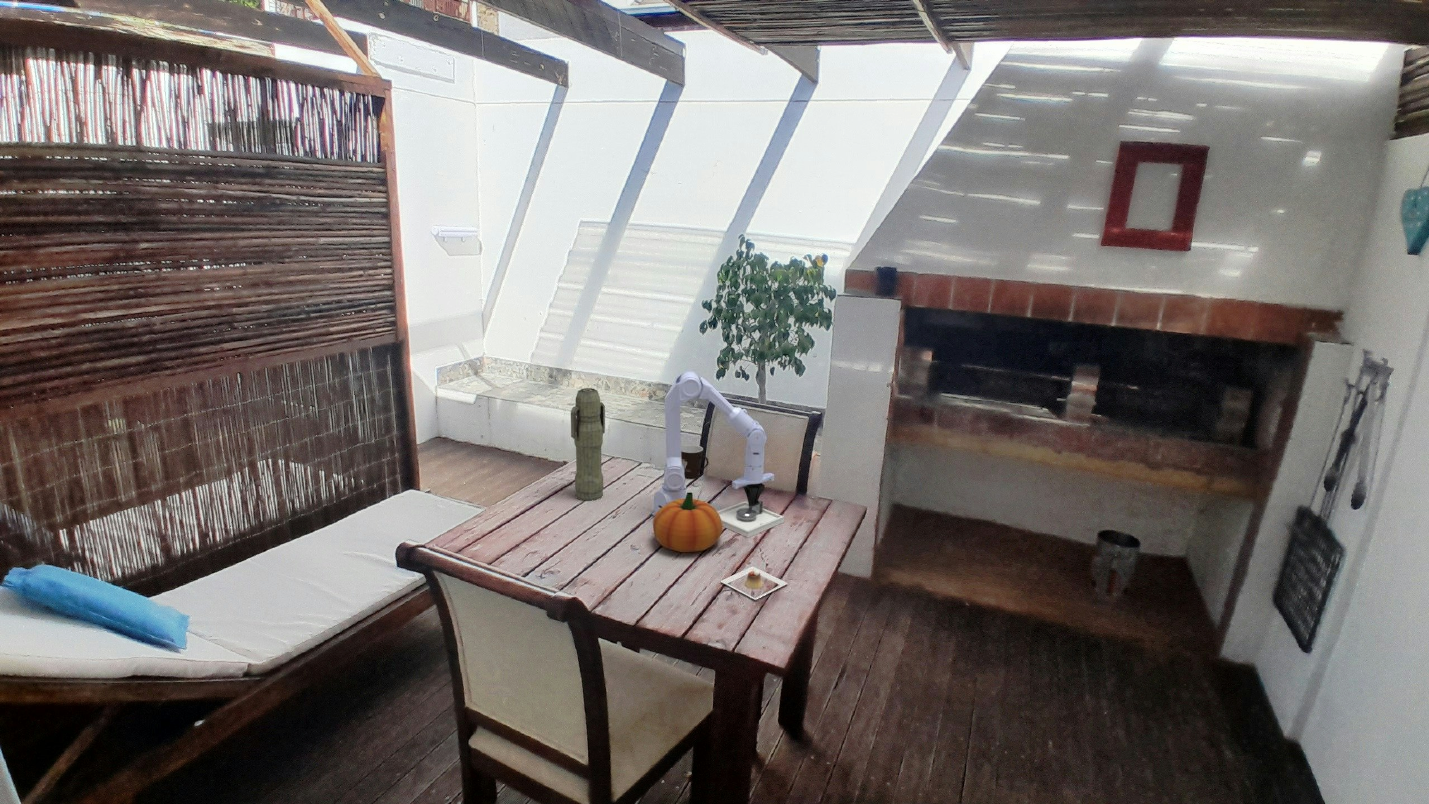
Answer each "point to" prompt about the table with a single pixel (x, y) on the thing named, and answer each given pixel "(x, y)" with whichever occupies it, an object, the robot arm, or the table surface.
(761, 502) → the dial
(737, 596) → the table surface
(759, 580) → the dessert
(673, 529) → the pumpkin
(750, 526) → the board
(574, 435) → the green carved statue
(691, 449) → the coffee mug
